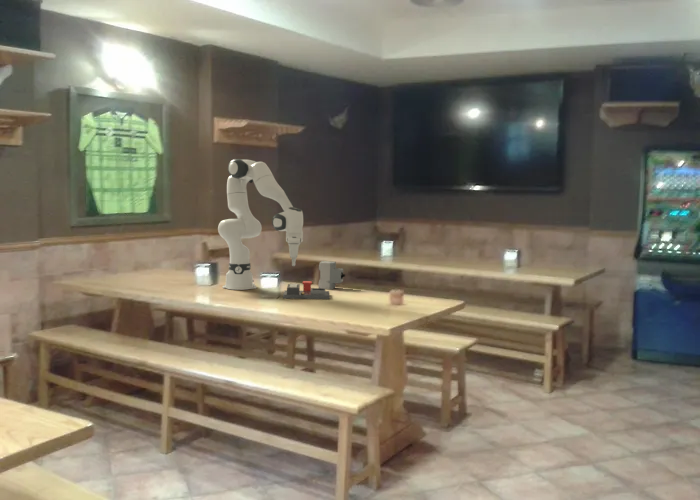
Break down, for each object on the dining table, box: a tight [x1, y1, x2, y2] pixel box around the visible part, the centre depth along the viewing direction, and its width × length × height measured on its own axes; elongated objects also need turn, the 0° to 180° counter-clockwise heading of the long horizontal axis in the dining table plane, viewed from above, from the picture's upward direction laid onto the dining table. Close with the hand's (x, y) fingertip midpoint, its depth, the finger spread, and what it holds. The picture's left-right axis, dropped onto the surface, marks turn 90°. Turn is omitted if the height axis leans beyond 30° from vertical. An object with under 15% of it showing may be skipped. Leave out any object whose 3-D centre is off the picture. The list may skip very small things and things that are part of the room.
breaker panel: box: [282, 283, 330, 300], centre depth 361 cm, size 14×24×6 cm, turn 93°
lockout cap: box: [302, 280, 313, 291], centre depth 374 cm, size 5×5×6 cm
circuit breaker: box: [318, 260, 346, 290], centre depth 391 cm, size 8×14×15 cm, turn 78°
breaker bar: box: [289, 283, 298, 288], centre depth 361 cm, size 11×4×3 cm, turn 3°
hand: (293, 264), depth 360 cm, fingers open, 8 cm apart
